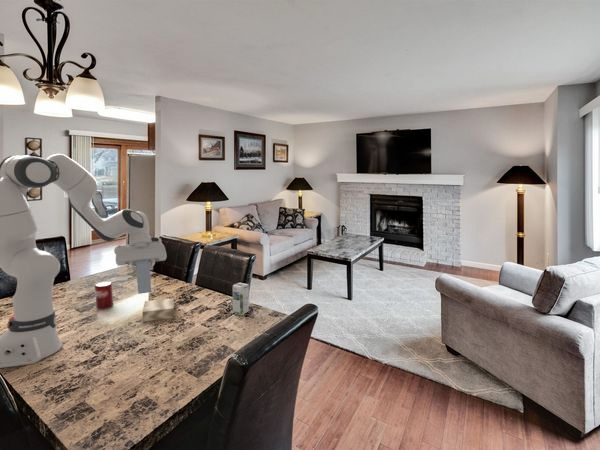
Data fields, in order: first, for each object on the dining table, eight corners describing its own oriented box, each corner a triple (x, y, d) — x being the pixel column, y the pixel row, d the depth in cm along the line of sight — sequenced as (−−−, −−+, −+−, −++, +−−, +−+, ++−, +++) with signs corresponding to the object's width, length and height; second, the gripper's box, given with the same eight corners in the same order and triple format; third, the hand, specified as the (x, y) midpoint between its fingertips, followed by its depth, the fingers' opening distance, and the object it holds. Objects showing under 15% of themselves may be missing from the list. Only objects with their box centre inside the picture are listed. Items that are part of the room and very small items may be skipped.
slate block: (138, 293, 138) (136, 264, 136) (137, 290, 142) (135, 261, 140) (151, 292, 140) (149, 263, 138) (150, 288, 144) (148, 260, 142)
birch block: (142, 322, 146) (142, 311, 145) (145, 311, 158) (144, 301, 157) (173, 318, 151) (173, 308, 150) (173, 307, 163) (173, 298, 162)
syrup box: (232, 314, 156) (231, 285, 153) (240, 309, 161) (239, 281, 159) (241, 316, 153) (241, 287, 151) (249, 312, 158) (249, 283, 156)
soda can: (105, 310, 157) (103, 286, 155) (92, 309, 158) (90, 285, 156) (116, 304, 164) (115, 282, 162) (104, 303, 165) (102, 281, 163)
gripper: (113, 242, 139) (115, 270, 132) (164, 238, 149) (168, 263, 142) (114, 249, 144) (116, 277, 137) (164, 245, 153) (167, 270, 146)
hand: (143, 270), depth 139 cm, fingers closed on slate block, 5 cm apart
